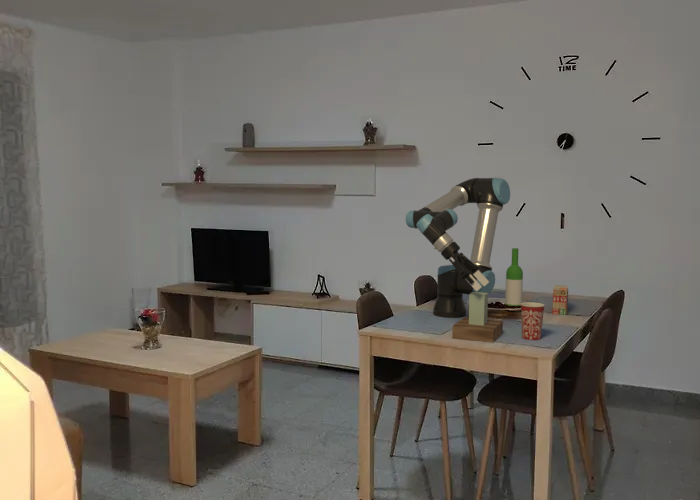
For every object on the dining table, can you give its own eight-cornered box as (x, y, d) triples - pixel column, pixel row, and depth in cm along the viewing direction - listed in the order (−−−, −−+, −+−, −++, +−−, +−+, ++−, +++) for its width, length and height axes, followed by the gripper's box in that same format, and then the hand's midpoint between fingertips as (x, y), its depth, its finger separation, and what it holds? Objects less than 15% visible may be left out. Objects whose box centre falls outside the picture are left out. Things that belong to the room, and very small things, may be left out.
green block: (472, 321, 265) (473, 291, 264) (487, 322, 263) (487, 292, 262) (468, 324, 260) (469, 294, 259) (483, 325, 258) (484, 295, 256)
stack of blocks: (554, 306, 326) (555, 282, 325) (568, 307, 324) (569, 282, 323) (552, 314, 306) (553, 288, 305) (566, 315, 304) (567, 289, 303)
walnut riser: (463, 329, 273) (464, 317, 273) (502, 333, 267) (502, 320, 266) (452, 338, 257) (452, 325, 256) (493, 342, 250) (493, 329, 250)
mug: (542, 341, 253) (544, 307, 251) (518, 339, 256) (519, 305, 254) (544, 334, 264) (546, 301, 263) (521, 332, 268) (522, 300, 266)
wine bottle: (501, 310, 314) (503, 248, 311) (511, 308, 319) (513, 247, 316) (515, 313, 308) (517, 249, 305) (524, 311, 313) (527, 248, 310)
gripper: (448, 250, 276) (483, 288, 272) (431, 256, 254) (468, 297, 249) (461, 238, 274) (496, 276, 269) (445, 243, 251) (483, 284, 247)
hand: (483, 286), depth 259 cm, fingers open, 13 cm apart
